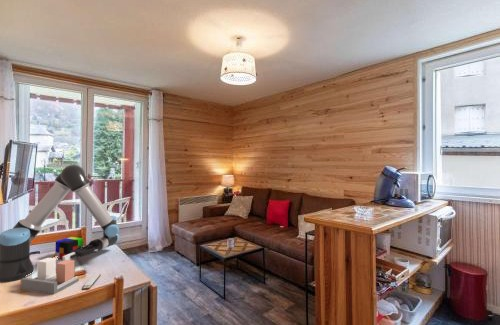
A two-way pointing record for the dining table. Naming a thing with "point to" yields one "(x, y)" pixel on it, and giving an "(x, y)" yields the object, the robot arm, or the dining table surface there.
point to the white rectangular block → (46, 268)
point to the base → (46, 285)
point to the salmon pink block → (65, 271)
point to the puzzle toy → (67, 246)
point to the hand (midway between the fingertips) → (63, 259)
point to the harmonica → (91, 281)
